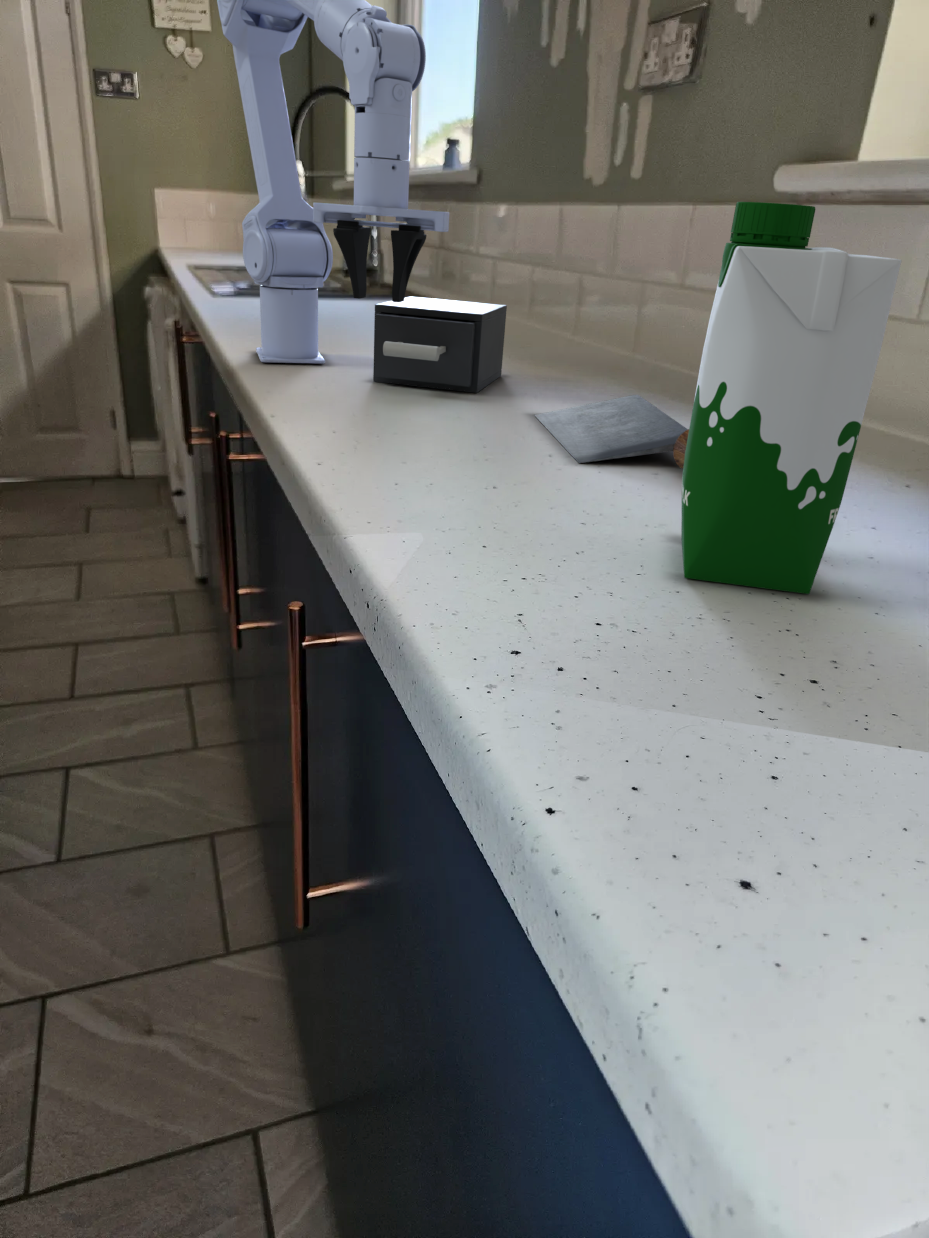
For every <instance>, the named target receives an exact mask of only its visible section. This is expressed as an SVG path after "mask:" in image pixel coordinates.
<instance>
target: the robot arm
mask: <svg viewBox="0 0 929 1238" xmlns="http://www.w3.org/2000/svg"><path fill="white" fill-rule="evenodd" d="M216 4H217V8H218V9H217V10H218V14H219V20H220V24H221V29H222V34H223V36H224V37H225V38H226V39H227V41H229V42H230V43H231V46H232V51H233V58H234V63H235V69H236V75H237V76H236V77H237V81H238V87H239V92H240V98H241V103H242V104H241V105H242V109H243V114H244V115H243V116H244V120H245V121H244V122H245V127H246V132H247V138H248V144H249V149H250V155H251V161H252V167H253V172H254V178H255V183H256V189H257V194H258V200H259V202H258V204H256V206H254V207H253V208H252V209H251V210H249V212H248V213H247V214H246V215H245V217H244V219H243V220H242V222H241V226H242V227H241V228H242V236H243V238H242V241H243V244H242V258H243V263H244V267H245V269H246V271H247V273H248V274H249V276H250V278H251V279H252V280H253V283H254V284H255V285H259V309H260V311H259V313H260V339H261V340H260V341H261V344H260V345H261V347H260V346H259V347H255V351H256V354H257V356H258V359H259V361H260V362H261V363H279V364H280V363H281V364H282V363H283V364H284V363H285V364H325V363H326V360H325V358H324V357H323V356H322V355H321V353H320V352H319V288H324V282H326V280H327V279H328V278H329V276H330V273H331V271H332V269H333V265H334V264H333V263H334V253H333V246H332V243H331V241H330V238H329V237H328V235H327V233H326V229H325V226H324V224H325V223H326V224H337V225H336V227H334V228H333V229H332V232H333V236H334V238H335V240H336V243H337V244H338V247H339V250H340V251H341V254H342V256H343V259H344V261H345V265H346V267H347V271H348V275H349V279H350V285H351V288H352V290H351V291H352V296H353V297H352V298H353V299H359V300H360V299H365V298H366V297H367V288H368V286H367V283H368V282H367V280H368V279H367V264H368V263H367V262H368V251H369V244H370V239H371V237H370V236H371V231H372V230H371V229H372V228H371V227H378V228H392V229H391V230H390V238H391V239H390V240H391V249H392V267H393V269H392V285H391V298H392V299H391V301H392V302H402V301H404V298H406V292H407V288H408V282H409V280H410V277H411V274H412V271H413V268H414V265H415V263H416V262H417V261H416V260H417V258H418V256H419V254H420V252H421V250H422V248H423V246H424V244H425V242H426V240H427V234H425V231H431V232H437V233H439V232H440V233H449V229H450V211H438V210H428V209H427V210H426V209H412V208H411V209H410V208H409V191H410V163H411V162H410V161H411V135H412V133H411V131H412V111H413V110H412V108H413V107H412V106H413V92H414V91H415V90H416V89H417V88H418V87H419V85H420V84H421V81H422V79H423V77H424V73H425V69H426V61H427V55H426V46H425V41H424V39H423V37H422V35H421V33H420V32H419V31H418V30H417V28H416V26H415V25H413V24H406V23H405V24H398V23H394V22H392V21H391V20H390V18H388V17H387V15H388V13H387V10H385V9H384V8H383V7H382V6H378V5H375V4H374V5H372V4H371V3H370V2H368V1H367V0H216ZM308 18H309V19H310V20H312V21H313V24H314V30H315V33H316V36H317V38H318V40H319V41H320V42H321V43H322V44H323V45H324V46H325V47H326V48H327V49H328V50H330V51H331V52H332V53H333V54H334V55H335V56H336V57H337V58H339V60H340V61H342V64H343V69H344V73H345V76H346V78H347V81H348V90H349V94H348V95H349V96H348V98H349V100H350V104H351V105H352V106H353V107H354V136H353V137H354V140H353V141H354V142H353V143H354V147H353V148H354V149H353V152H354V153H353V158H354V159H353V204H342V203H327V202H325V203H324V202H313V203H312V206H313V207H312V206H311V205H310V204H309V203H308V202H307V201H306V200H305V199H304V198H303V195H302V190H301V184H300V176H299V171H298V165H297V159H296V154H295V148H294V142H293V135H292V130H291V129H292V128H291V123H290V117H289V112H288V106H287V101H286V100H287V99H286V93H285V89H284V87H285V86H284V81H283V76H282V71H281V65H280V64H281V63H280V57H281V55H283V54H284V53H287V52H289V51H291V50H293V49H294V47H295V46H296V43H297V41H298V39H299V36H300V35H301V32H302V30H303V28H304V27H305V24H306V22H307V19H308ZM367 216H377V217H378V216H379V217H392V218H394V217H395V222H389V221H377V220H376V221H375V220H363V219H367ZM402 222H405V223H402ZM397 229H398V230H397Z"/></svg>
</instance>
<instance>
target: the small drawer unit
mask: <svg viewBox="0 0 929 1238" xmlns="http://www.w3.org/2000/svg"><path fill="white" fill-rule="evenodd" d="M507 308H508V305H507V304H496V303H486V302H477V301H465V300H455V299H443V298H433V297H432V298H431V297H423V296H413V295H412V296H405V298H404V301H402V302H392V300H388V301H383V302H379V303H375V304H374V315H375V314H389V315H390V314H393V313H395V314H405V315H415V316H426V317H436V318H446V319H457V320H467V321H475V337H474V352H473V367H472V381H471V386H469V387H465V386H456V385H447V384H438V383H430V382H421V381H412V380H403V379H394V378H385V377H376V376H373V375H372V378H373V379H372V382H375V383H384V384H391V385H392V384H394V385H401V386H410V387H411V386H412V387H420V388H429V389H437V390H447V391H454V392H455V391H456V392H465V393H472V394H477V393H479V392H480V391H482V390H483V389H484V388H486V387H487V386H489V385H490V384H492V383H493V382H495V381H496V380H497V379H499V378H500V377H502V371H503V370H502V369H503V359H504V347H505V346H504V345H505V334H506V321H507Z"/></svg>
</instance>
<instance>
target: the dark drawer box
mask: <svg viewBox="0 0 929 1238" xmlns="http://www.w3.org/2000/svg"><path fill="white" fill-rule="evenodd" d="M373 321H374V324H373V325H374V326H373V327H374V328H373V330H374V331H373V371H372V372H373V374H372V377H373V376H376V377H385V378H394V379H403V380H412V381H421V382H430V383H438V384H447V385H456V386H465V387H469V386H471V381H472V367H473V352H474V337H475V321H467V320H457V319H446V318H436V317H426V316H415V315H405V314H395V313H393V314H390V315H389V314H375V313H374V320H373Z"/></svg>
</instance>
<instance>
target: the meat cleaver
mask: <svg viewBox="0 0 929 1238" xmlns="http://www.w3.org/2000/svg"><path fill="white" fill-rule="evenodd" d="M534 417H535V418H536V419H537V420H538V421H539V422H540V423H541V424H542V425H543V426H544V427H545V428H546V429H547V431H548V432H549V433H550V434H551V435H552V437H554V438H555V440H557V441H558V442H559V443H560V445H561V446H562V447H563V448H564V449H565V450H566V451H567V452H568V454H570V455H571V456H572V458H573V459H574V460H575V461H576V462H577V463H578V464H584V463H591V462H599V461H607V460H613V459H614V460H615V459H622V458H629V457H637V456H645V455H646V456H647V455H651V454H652V455H653V454H660V453H669V452H673V455H672V456H673V459H674V462H675V464H676V465H677V466H678V467H679V468H680V469H682V470H683V467H684V457H685V451H686V445H687V439H688V433H689V428H687V427H685V426H684V425H683V424H682V423H679V422H678V421H677V420H676V419H675V418H672V417H671V416H670V415H668V414H667V413H666V412H664V411H662V410H661V409H660V408H658V407H657V406H655V405H653V404H652V403H651V402H649V401H648V400H646V399H645V398H643V397H642V396H641V395H640V394H632V395H626V396H621V397H617V398H612V399H606V400H602V401H596V402H592V403H586V404H582V405H577V406H572V407H567V408H562V409H557V410H552V411H547V412H543V413H538V414H534Z"/></svg>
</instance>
